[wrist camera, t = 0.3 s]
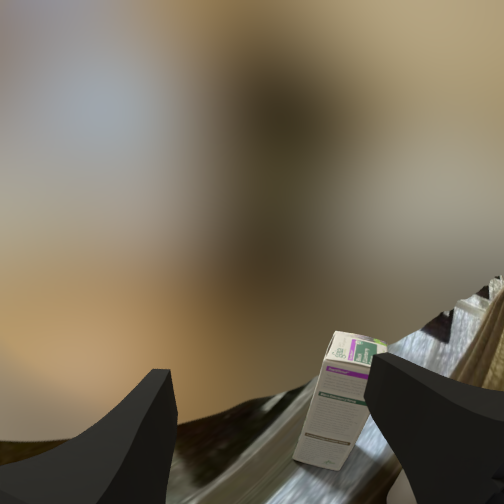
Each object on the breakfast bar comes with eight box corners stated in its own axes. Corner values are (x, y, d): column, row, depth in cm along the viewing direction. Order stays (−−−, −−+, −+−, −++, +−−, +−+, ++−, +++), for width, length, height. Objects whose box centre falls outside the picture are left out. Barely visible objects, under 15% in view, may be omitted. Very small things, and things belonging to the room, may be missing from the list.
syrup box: (339, 473, 24) (392, 372, 20) (288, 459, 26) (324, 356, 22) (348, 439, 29) (391, 340, 25) (302, 427, 31) (334, 327, 27)
